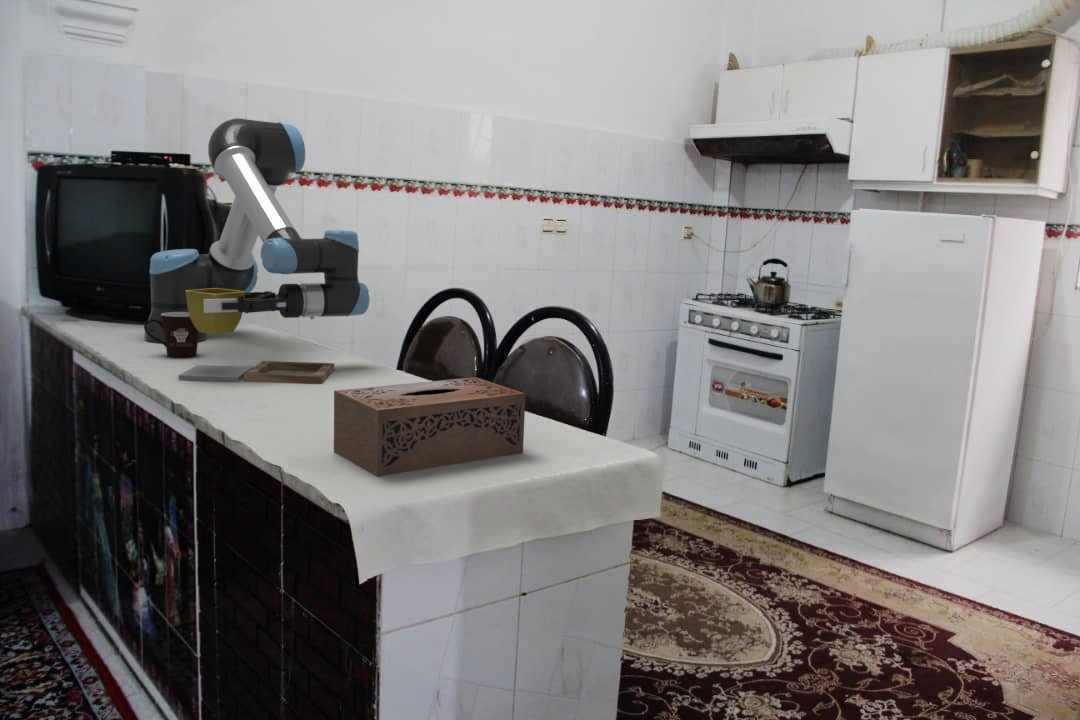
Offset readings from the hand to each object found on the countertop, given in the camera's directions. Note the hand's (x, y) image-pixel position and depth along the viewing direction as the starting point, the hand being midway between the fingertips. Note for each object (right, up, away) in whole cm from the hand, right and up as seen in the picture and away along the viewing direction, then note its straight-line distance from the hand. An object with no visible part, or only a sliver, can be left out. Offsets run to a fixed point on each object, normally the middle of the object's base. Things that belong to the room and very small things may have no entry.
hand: (197, 302), depth 185 cm
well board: (+17, -15, +9) cm, 25 cm away
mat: (+2, -15, +5) cm, 16 cm away
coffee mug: (-15, -11, +26) cm, 32 cm away
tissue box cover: (+54, -27, -46) cm, 76 cm away
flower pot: (+3, -6, +3) cm, 8 cm away
